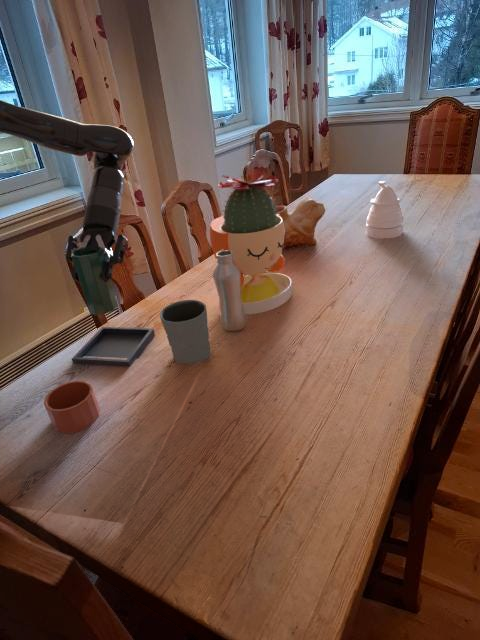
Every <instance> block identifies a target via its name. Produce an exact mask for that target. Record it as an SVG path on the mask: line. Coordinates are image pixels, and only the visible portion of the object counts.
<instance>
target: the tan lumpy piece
mask: <svg viewBox="0 0 480 640" xmlns="http://www.w3.org/2000/svg"><path fill="white" fill-rule="evenodd" d="M275 206H276V207H275V208H277V209H276V211H278V212H276V214H280V216H281V218H282V220H283V224H284V229H285V242H284V246H283V250H282V251H285V250H284V249H286V250H290V249H289V248H291V249H294V248H293V247H296V248H299V247H298V246H301V247H307V246H306V245H308V246H315V245H317V244H316V243H317V240H316V237H315V232H316V227H317V224H318V223H319V222H320V220H321V219H323V217H324V215H325V213H326V208H325V205H324V203H322V202H317V201H316V200H315V199H312V198H311V197H304V198H303V199H302V200H301V201H300V202H298V204H297V206H295V208H294V209H293V210H292V211H291V212H290V211H289V212H288V207H287V206H286V205H275Z"/></svg>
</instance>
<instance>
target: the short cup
mask: <svg viewBox="0 0 480 640" xmlns="http://www.w3.org/2000/svg"><path fill="white" fill-rule="evenodd" d="M43 405H44V408H45V410H46V412H47V415H48V417H49V420H50V422H51V425H52V427H53V429H54V430H55V431H56V432H57V433H61V434H72V433H73V434H74V433H77V432H80V431H83V430H85V429H86V428H88V427H90V426H91V425H92V424H94V423H95V422H96V421H97V420H98V418H99V416H100V412H101V408H100V405H99V403H98V399H97V396H96V394H95V391H94V388H93V387H92V384H91V383H90V382H88V381H85V380H72V381H68V382H64V383H62V384H60V385H58V386H56V387H54V388H53V389H52V390H50V392H48V394H47V395H46V396H45V398H44V400H43Z"/></svg>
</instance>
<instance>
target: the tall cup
mask: <svg viewBox="0 0 480 640" xmlns="http://www.w3.org/2000/svg"><path fill="white" fill-rule="evenodd" d="M92 247H96V248H97V249H98V250H99V251H97V252H96V251H95V252H88V251H87V250H89V249H90V248H92ZM83 249H84V250H83ZM82 250H83V251H82ZM71 255H72V259H73V262H74V265H75V268H76V271H77V274H78V278H79V281H80V282H79V284H80V286H81V290H82V294H83V296H84V299H85V302H86V303H85V304H86V305H87V309H88V312H89V314H91V315H93V316H100V315H105V314H108V313H111V312H113V311H115V310H116V309H117V308H118V306H119V304H118V301H117V298H116V294H115V290H114V286H113V282H112V278H111V279H109V282H105V281H103V280H102V279H101V275H102V270H103V264H104V263H105V260H104V254H103V250H102V248H101V247H99V246H87V247H85V248H84V247H82V248H79V249H77V250H75V251H73V252H72V253H71Z"/></svg>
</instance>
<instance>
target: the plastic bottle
mask: <svg viewBox="0 0 480 640" xmlns="http://www.w3.org/2000/svg"><path fill="white" fill-rule="evenodd" d="M216 256H217V260H216V263H217V265H216V266H215V268H214V270H213V273H212V277H213V282H214V286H215V288H216V292H217V296H218V301H219V302H218V303H219V323H220V325H221V328H223V329H224V330H225V331H229V332H237V331H239V330H242V329H243V328H244V327H245V326H246V324H247V314H245V311H244V309H243V304H242V300H241V289H240V284H241V273H240V270H239V268H238V267H237V266H236V265H235V264H234V263H233V262H232V261H233V254H232V251H220V252H218V253H217V254H216Z"/></svg>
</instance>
